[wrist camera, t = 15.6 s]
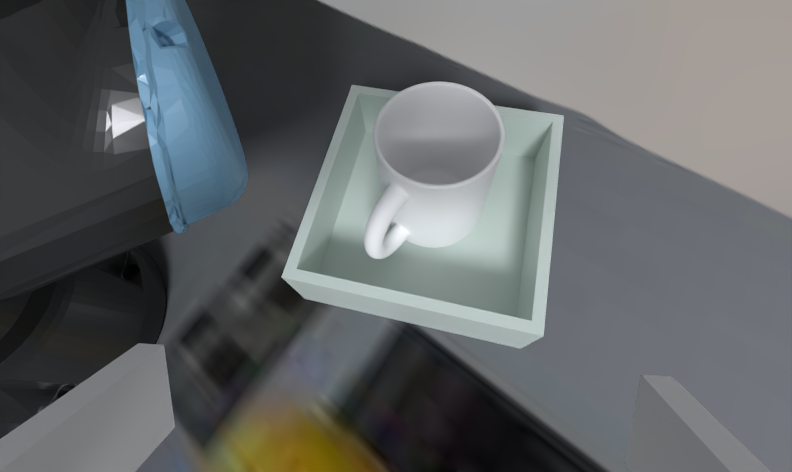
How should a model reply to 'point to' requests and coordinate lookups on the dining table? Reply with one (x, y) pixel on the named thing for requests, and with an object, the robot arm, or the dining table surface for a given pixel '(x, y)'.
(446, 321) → the bin
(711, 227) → the dining table surface
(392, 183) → the mug
